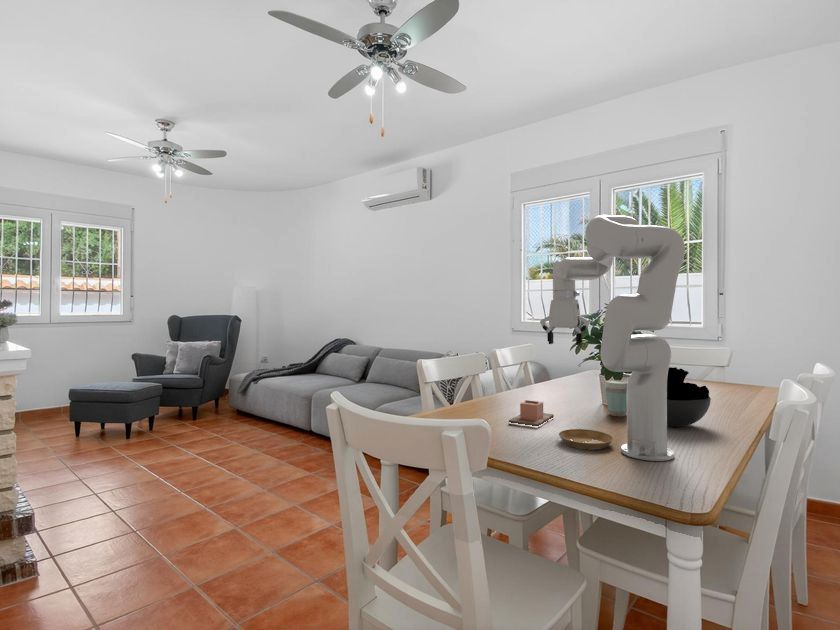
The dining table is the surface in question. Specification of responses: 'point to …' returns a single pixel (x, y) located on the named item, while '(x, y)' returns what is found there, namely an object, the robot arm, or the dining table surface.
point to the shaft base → (531, 420)
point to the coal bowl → (685, 399)
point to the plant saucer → (585, 438)
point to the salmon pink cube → (531, 410)
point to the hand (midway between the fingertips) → (564, 344)
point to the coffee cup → (616, 397)
